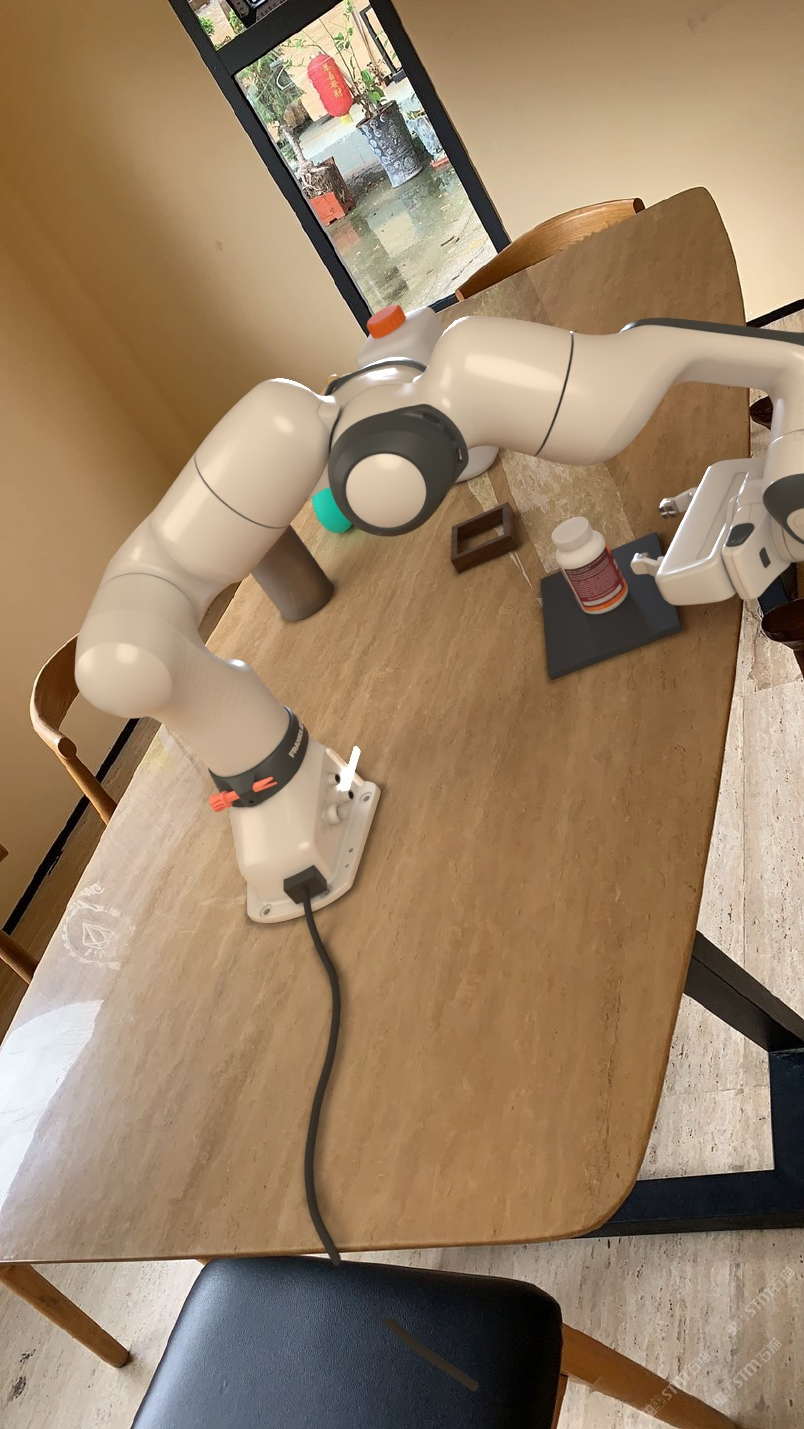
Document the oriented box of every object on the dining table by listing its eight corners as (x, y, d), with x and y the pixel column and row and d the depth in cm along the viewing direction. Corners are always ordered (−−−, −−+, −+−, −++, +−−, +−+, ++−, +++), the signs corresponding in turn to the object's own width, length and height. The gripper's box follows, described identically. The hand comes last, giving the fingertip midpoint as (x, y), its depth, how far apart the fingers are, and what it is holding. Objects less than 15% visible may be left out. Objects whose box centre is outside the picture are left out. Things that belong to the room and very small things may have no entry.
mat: (683, 630, 117) (680, 624, 117) (551, 679, 123) (548, 674, 122) (658, 536, 132) (656, 530, 132) (543, 584, 138) (540, 579, 138)
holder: (517, 548, 148) (510, 535, 146) (458, 574, 151) (450, 560, 150) (515, 514, 155) (508, 501, 153) (459, 539, 158) (451, 526, 157)
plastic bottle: (414, 499, 175) (327, 355, 160) (437, 449, 185) (357, 308, 169) (492, 475, 167) (409, 321, 152) (513, 423, 177) (436, 273, 161)
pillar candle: (341, 575, 169) (291, 502, 161) (324, 614, 163) (271, 540, 155) (294, 590, 174) (243, 520, 166) (275, 628, 168) (221, 557, 160)
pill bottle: (639, 588, 125) (605, 517, 119) (604, 622, 124) (567, 551, 118) (606, 577, 130) (572, 508, 124) (572, 609, 129) (535, 541, 123)
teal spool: (380, 532, 173) (349, 485, 168) (332, 546, 179) (301, 500, 173) (397, 497, 179) (368, 450, 174) (350, 511, 185) (321, 466, 179)
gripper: (787, 435, 111) (668, 456, 120) (731, 563, 100) (605, 575, 110) (804, 482, 114) (687, 499, 123) (751, 611, 104) (628, 619, 113)
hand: (648, 536), depth 116 cm, fingers open, 8 cm apart
